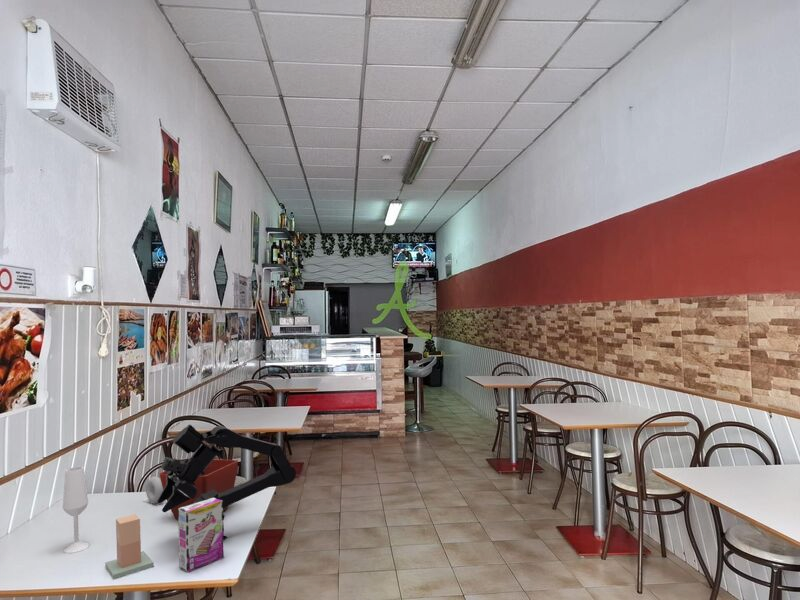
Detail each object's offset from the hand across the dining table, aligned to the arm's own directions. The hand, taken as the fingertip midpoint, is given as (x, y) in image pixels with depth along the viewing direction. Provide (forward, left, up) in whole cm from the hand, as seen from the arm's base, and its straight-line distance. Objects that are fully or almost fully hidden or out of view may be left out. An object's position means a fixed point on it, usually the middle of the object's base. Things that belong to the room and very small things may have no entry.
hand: (160, 507), depth 156 cm
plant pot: (+10, -29, -14) cm, 34 cm away
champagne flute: (+30, +3, -14) cm, 33 cm away
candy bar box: (-16, +2, -14) cm, 21 cm away
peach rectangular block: (+3, +9, -12) cm, 16 cm away
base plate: (+3, +9, -14) cm, 17 cm away
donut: (+36, -35, -14) cm, 52 cm away
